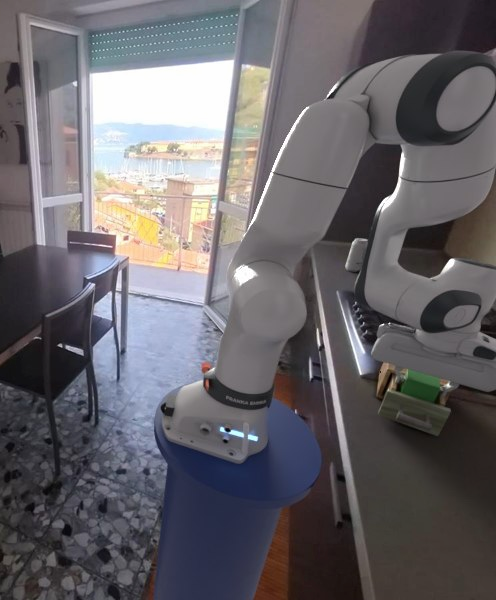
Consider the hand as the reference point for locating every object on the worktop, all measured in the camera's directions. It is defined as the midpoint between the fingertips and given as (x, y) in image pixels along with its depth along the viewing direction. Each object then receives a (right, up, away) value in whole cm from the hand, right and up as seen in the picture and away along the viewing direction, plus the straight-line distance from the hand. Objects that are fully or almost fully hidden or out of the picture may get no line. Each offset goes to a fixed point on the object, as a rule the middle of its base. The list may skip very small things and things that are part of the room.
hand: (418, 388), depth 79 cm
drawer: (-1, -7, +2) cm, 7 cm away
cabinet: (+7, -4, +11) cm, 13 cm away
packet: (0, -1, +1) cm, 2 cm away
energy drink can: (+52, +34, +92) cm, 111 cm away
